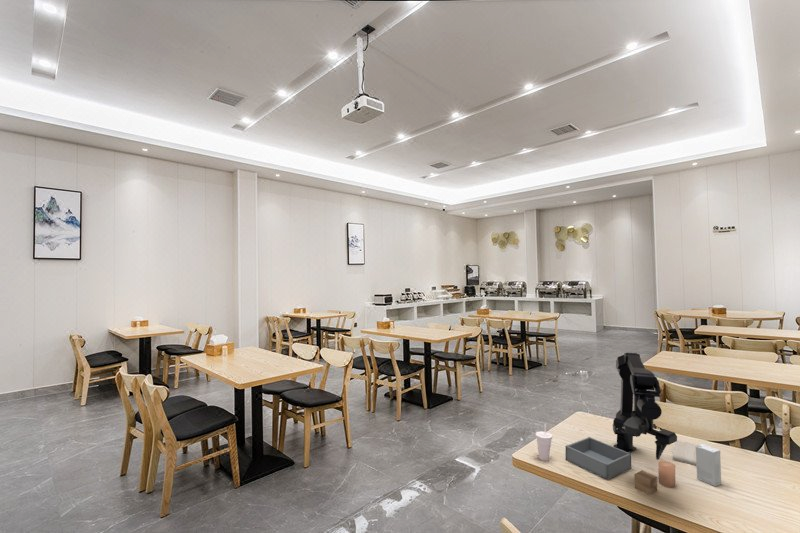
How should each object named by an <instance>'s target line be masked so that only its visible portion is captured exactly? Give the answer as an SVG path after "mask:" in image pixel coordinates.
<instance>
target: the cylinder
mask: <svg viewBox="0 0 800 533" xmlns="http://www.w3.org/2000/svg"><path fill="white" fill-rule="evenodd" d="M657 462H658V469H657V470H658V474H657V475H658V476H657V483H658V484H660V485H661V486H663V487H666V488H669V489H670V488H671V489H672V488H675V487H676V464H674V462H670V461H668V460H659V461H657Z"/></svg>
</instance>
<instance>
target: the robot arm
mask: <svg viewBox="0 0 800 533" xmlns="http://www.w3.org/2000/svg"><path fill="white" fill-rule="evenodd" d="M615 368H616V370H617V372H618V375H619V376H620V379H621V380H620V381H621V382H620V383H621V385H620V409H619V410H618V412H616V414H615V418H614V419H613V424H612V431H613V433H614V435H616V443H615V444H614V445H612V446H613V447H616V448H618V449H620V450H623V451H625V452H628V453H631V452H634V451H635V450H637V446H636V447H635V446H634V437H636V438H638V437H641V435H642V434H643V435H647V434H649V435H652V436H654V437H655V439H656V440H655V441H654V443H655V446H656V447H655V449H656V450H655V458H656V460H657V461H658V460H659V459H660V458H661V456H662V454H663V452H664V451H665V449H666V447H667V446H669V445H672V444H675V443H676V442H677V441H678V436H677V434H676V433H675V432H674V431H672V430H668V429H666V428H665V429H664V428H662V429H660V430H657V429H654V428H656V424H655V423H654V420H658V419H659V418H660V417H661V416H662V413H663V412H662V409H661V406H660V405H659V404H658V403H657V401H656V397H657V398H660V397H661V393H662V390H661V385H660V382H659V380H658V378H657V376H656V375H655V374H654V372H652V371H651V370H650V369H646V367H645V365H644V363H643V361H642V358H641V355H640V353H638V352H624V354H623V355H620V356H617V358H616V360H615Z"/></svg>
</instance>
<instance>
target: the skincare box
mask: <svg viewBox="0 0 800 533" xmlns="http://www.w3.org/2000/svg"><path fill="white" fill-rule="evenodd" d="M696 445H697V444H696ZM721 464H722V463H721V450H720V449H718V448H715V447H713V446H709V445H706V444H704V443H701V444H698V445H697V446H696V479H697V480H699V481H702V482H704V483H706V484H707V485H708V484H709V485H711V486H714V487H718V486H720V485H722V469H721V468H722V467H721ZM719 484H720V485H719ZM717 485H718V486H717Z"/></svg>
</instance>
